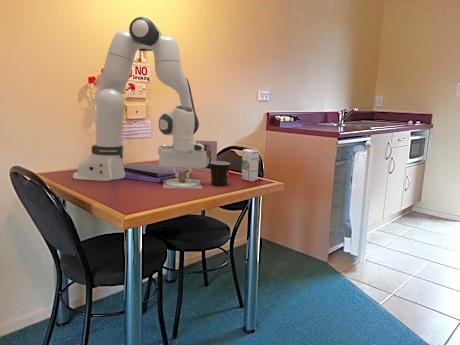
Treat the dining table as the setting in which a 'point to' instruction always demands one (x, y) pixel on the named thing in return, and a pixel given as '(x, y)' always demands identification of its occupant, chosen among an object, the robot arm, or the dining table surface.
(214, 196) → the dining table surface
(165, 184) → the grey mat
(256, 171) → the syrup box
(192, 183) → the sage lid
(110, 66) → the robot arm
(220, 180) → the coffee mug
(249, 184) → the dining table surface
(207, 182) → the dining table surface
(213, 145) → the greeting card
